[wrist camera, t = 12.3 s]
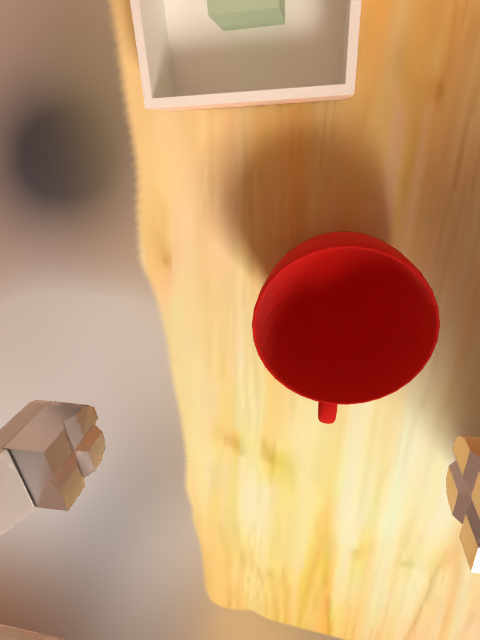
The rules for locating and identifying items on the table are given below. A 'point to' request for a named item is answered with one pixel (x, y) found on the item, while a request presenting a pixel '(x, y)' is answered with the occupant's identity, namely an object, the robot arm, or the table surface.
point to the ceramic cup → (345, 321)
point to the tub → (245, 55)
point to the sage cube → (246, 13)
